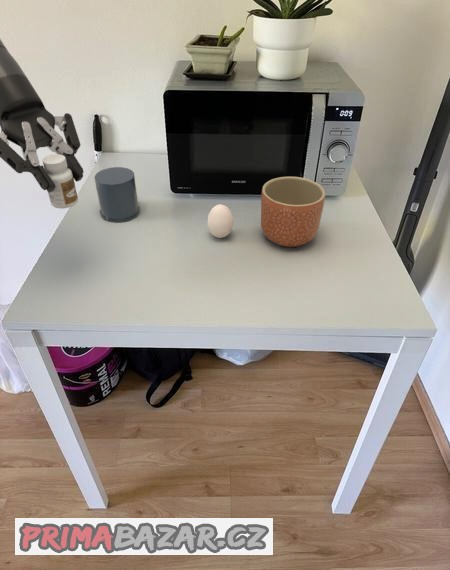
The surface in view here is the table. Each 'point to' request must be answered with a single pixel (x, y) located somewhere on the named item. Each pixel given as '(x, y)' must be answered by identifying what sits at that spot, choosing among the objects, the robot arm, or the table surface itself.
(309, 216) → the planter
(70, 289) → the table surface
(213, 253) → the table surface
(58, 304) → the table surface
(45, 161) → the pill bottle
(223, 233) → the egg
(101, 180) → the cup
